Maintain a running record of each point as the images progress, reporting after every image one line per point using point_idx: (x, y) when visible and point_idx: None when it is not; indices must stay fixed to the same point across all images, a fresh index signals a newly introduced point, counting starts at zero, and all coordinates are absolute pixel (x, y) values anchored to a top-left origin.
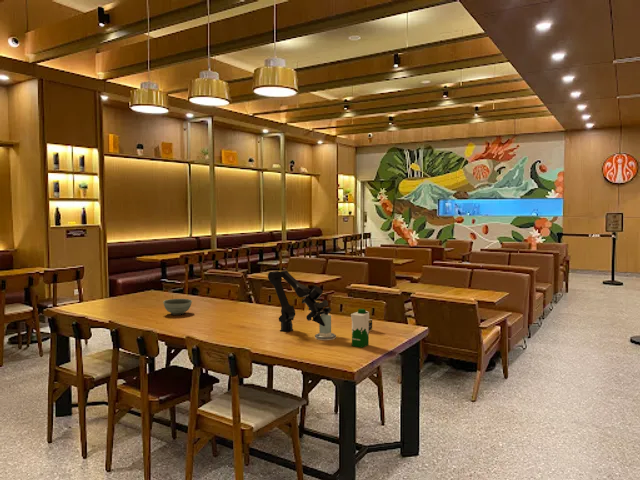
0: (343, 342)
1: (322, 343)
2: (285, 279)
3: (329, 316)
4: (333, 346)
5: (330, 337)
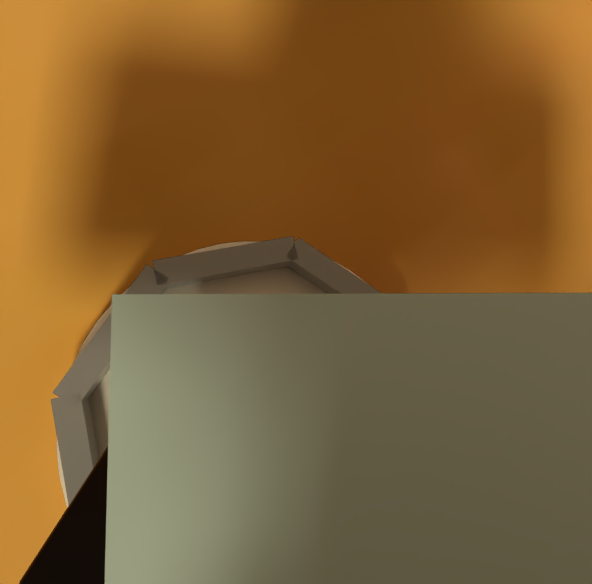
0: (322, 35)
1: (533, 249)
2: None
3: (328, 302)
4: (543, 57)
5: (328, 260)
